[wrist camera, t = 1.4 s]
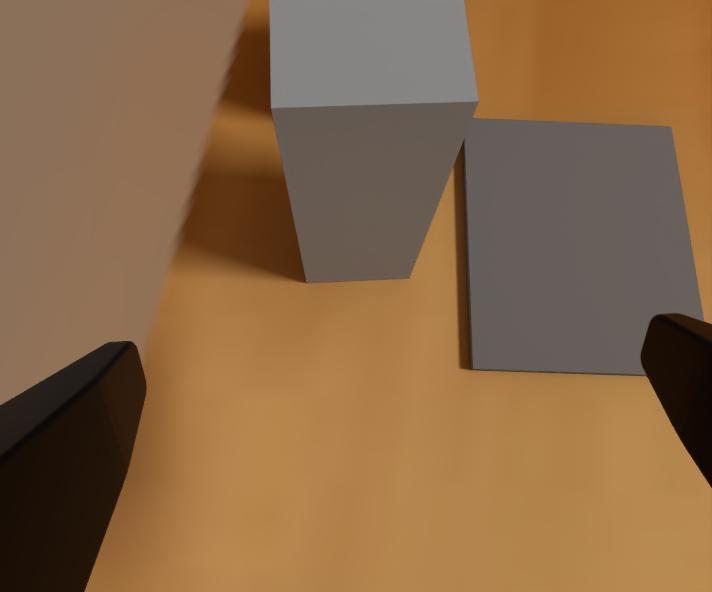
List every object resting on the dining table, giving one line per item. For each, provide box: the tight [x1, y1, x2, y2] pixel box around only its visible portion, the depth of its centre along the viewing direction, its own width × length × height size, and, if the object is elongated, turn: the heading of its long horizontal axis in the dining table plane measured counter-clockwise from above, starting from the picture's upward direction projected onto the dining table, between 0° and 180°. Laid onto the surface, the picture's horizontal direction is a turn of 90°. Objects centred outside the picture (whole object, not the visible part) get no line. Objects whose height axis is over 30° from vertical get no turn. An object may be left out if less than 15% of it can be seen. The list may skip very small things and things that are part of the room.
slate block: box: [270, 0, 479, 283], centre depth 18 cm, size 4×4×12 cm
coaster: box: [463, 118, 704, 376], centre depth 23 cm, size 12×10×1 cm
